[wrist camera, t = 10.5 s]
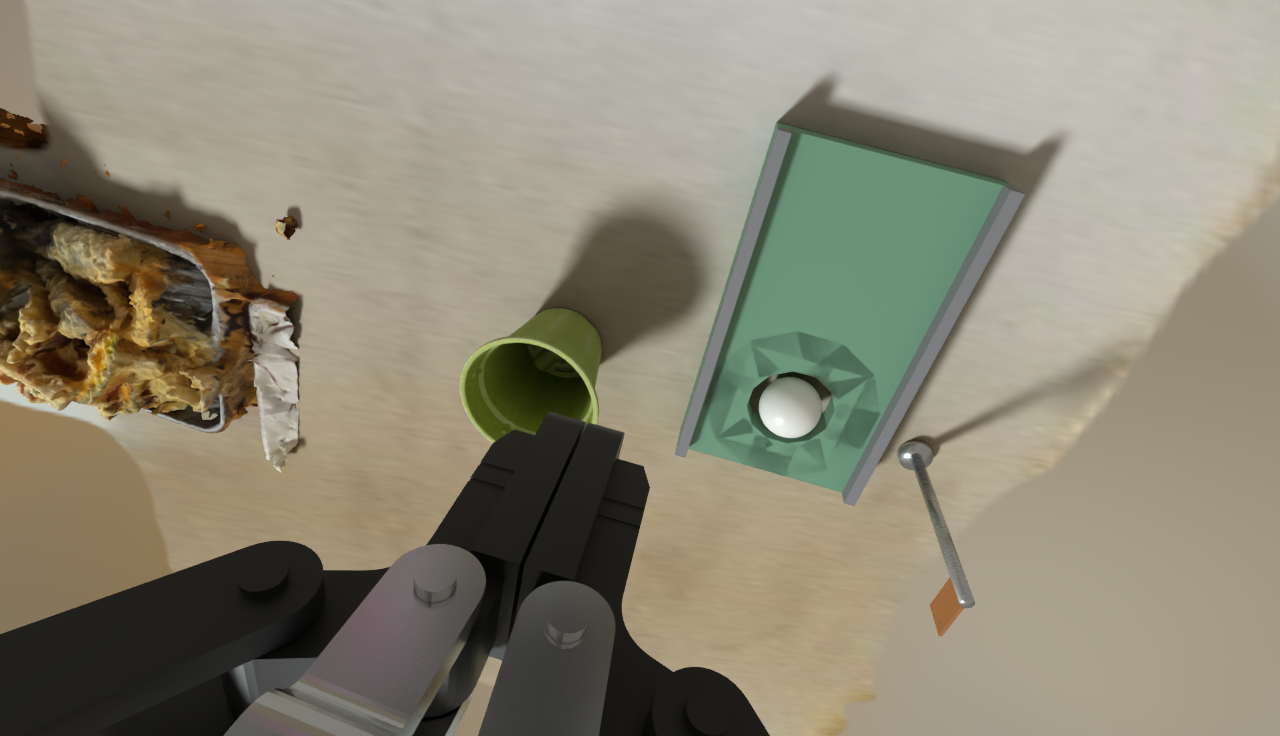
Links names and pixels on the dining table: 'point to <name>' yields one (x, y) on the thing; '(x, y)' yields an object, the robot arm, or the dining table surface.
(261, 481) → the dining table surface
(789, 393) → the ball
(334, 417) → the dining table surface
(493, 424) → the plant pot
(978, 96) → the dining table surface
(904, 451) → the pin
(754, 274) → the lane
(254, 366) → the food tray
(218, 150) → the dining table surface
